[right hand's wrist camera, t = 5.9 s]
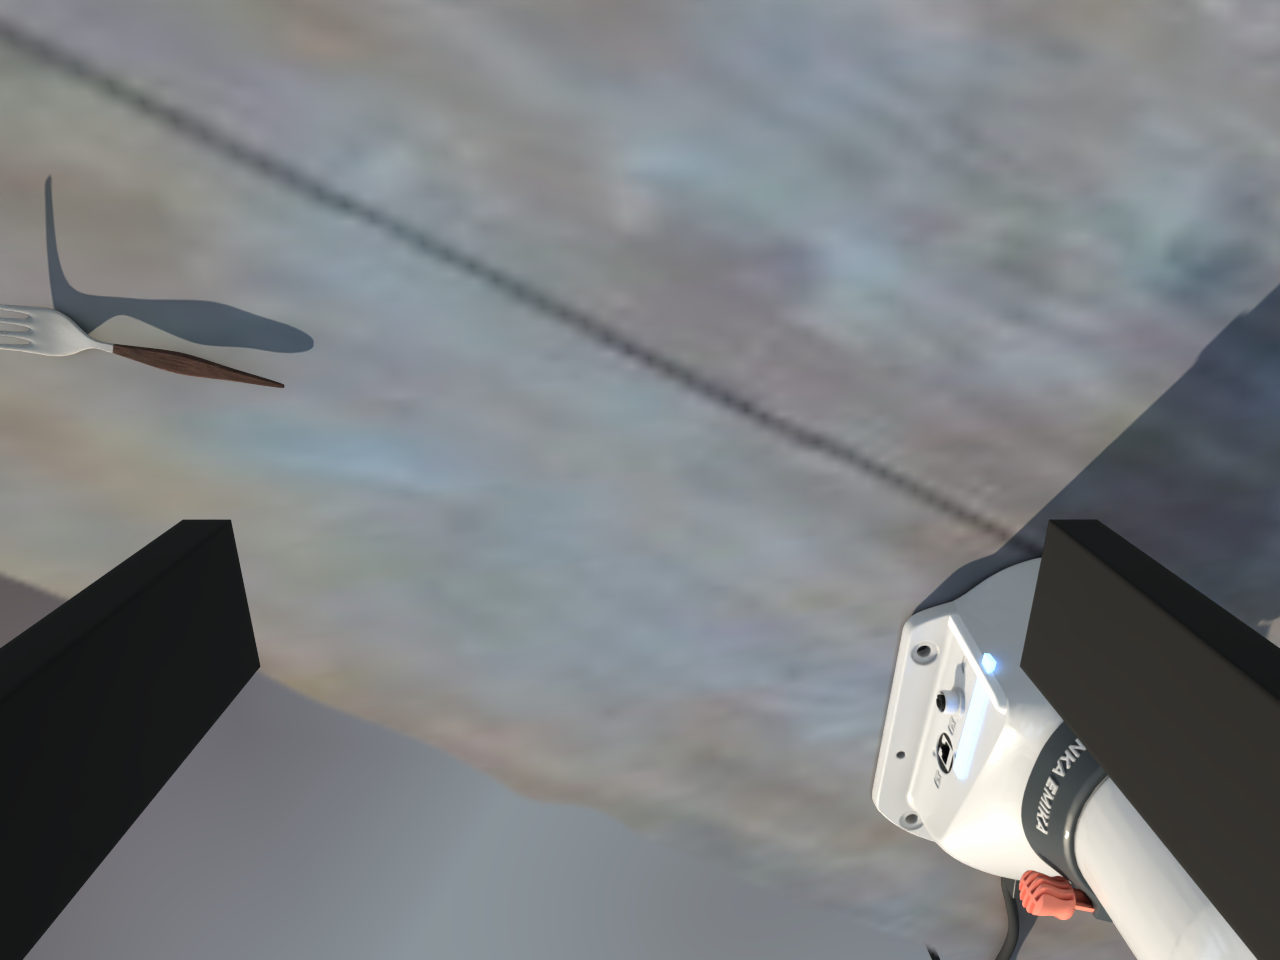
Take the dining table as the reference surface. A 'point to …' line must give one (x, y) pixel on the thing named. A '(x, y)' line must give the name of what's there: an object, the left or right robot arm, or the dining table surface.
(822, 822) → the dining table surface
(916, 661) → the left robot arm
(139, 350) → the fork
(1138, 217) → the dining table surface
